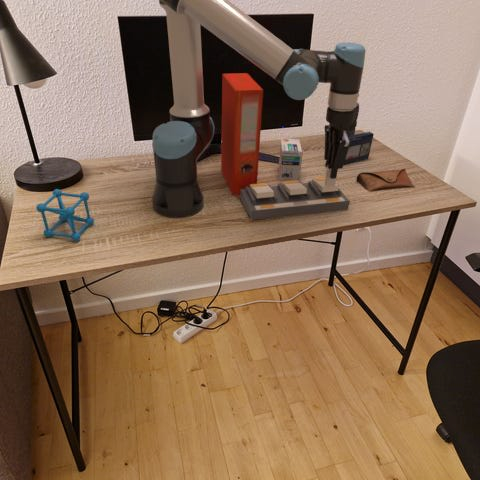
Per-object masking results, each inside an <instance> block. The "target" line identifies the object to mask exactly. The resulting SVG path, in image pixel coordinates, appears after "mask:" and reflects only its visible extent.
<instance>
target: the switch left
mask: <svg viewBox="0 0 480 480" xmlns="http://www.w3.org/2000/svg"><path fill="white" fill-rule="evenodd" d="M268 185H269V184H267V182H264V183H263V182H262V183H257V184H250V190H251V192H252V193H253V194H254V195H255V197H256V198H267V197H274V191H273V190H272V189H271V188H270V187H269V186H268Z"/></svg>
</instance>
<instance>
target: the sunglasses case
mask: <svg viewBox="0 0 480 480" xmlns="http://www.w3.org/2000/svg"><path fill="white" fill-rule="evenodd" d="M356 182H357V184H359V185H361V187H362V188H364V189H365V190H366V191H367V192H368V193H370V192H371V193H372V192H376V191H377V192H378V191H384V190H394V189H405V188H406V189H407V188H416V186H415V185H414V184H413V183H412V180H411V179H410V176H409V175H408V173H407V170H406V169H405V168H402V169H393V170H382V171H381V170H380V171H371V172H369V171H368V172H360V173H358V174H357V176H356Z"/></svg>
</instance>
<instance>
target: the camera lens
mask: <svg viewBox="0 0 480 480" xmlns="http://www.w3.org/2000/svg"><path fill="white" fill-rule="evenodd" d="M355 110H356V113H355V119H354V122H353V123H352V124H350V125H349V126H348V135H347V136H351V135H356V134H355V133H356V127H357V125H358V121H357V120H358V117H359V114H360V113H359V112H360V103H359V102H357V106H356V107H355Z"/></svg>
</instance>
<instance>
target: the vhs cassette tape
mask: <svg viewBox="0 0 480 480" xmlns="http://www.w3.org/2000/svg"><path fill="white" fill-rule="evenodd" d="M374 135H375V134H374V133H373V132H371V131H366V132H361V133H357V134H354V135H351V136H347V137H348V140H352V144H351V145H350V147H349V149H348V152H347V156H346V159H345V162H344V165H343V166H347V165H351V164H356V163H359V162H362V161H368V160H369V157H370V153H371V149H372V144H373V140H374ZM326 162H327V160H325V163H324V165H325V167H326V168H327V166H328V165H327V163H326Z"/></svg>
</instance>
